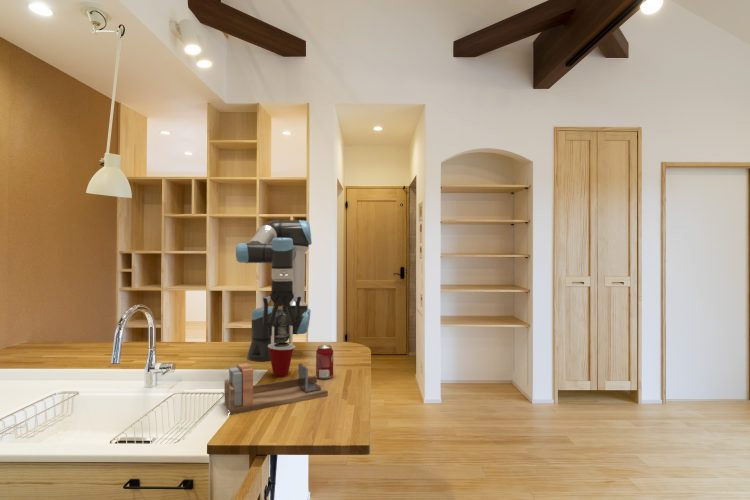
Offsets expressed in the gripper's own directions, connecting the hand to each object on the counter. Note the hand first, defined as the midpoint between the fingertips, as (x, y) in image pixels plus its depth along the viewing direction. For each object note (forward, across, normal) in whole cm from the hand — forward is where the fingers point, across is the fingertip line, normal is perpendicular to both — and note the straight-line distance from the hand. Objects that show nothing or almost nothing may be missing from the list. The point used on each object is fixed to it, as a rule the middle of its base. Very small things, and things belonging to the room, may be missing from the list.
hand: (281, 343), depth 144 cm
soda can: (+16, +18, +7) cm, 25 cm away
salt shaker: (+1, 0, 0) cm, 1 cm away
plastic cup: (+16, +2, +16) cm, 23 cm away
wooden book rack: (+16, -3, -10) cm, 19 cm away
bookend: (+14, +9, -8) cm, 19 cm away
